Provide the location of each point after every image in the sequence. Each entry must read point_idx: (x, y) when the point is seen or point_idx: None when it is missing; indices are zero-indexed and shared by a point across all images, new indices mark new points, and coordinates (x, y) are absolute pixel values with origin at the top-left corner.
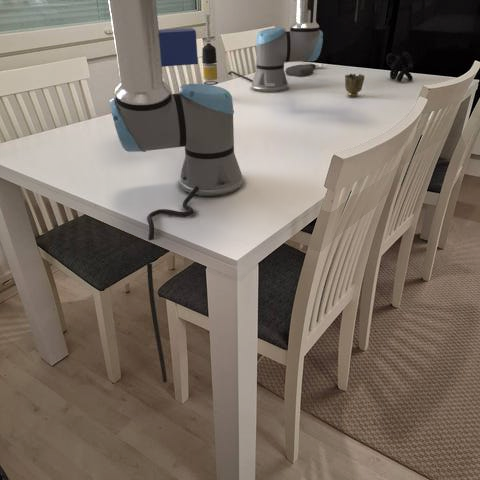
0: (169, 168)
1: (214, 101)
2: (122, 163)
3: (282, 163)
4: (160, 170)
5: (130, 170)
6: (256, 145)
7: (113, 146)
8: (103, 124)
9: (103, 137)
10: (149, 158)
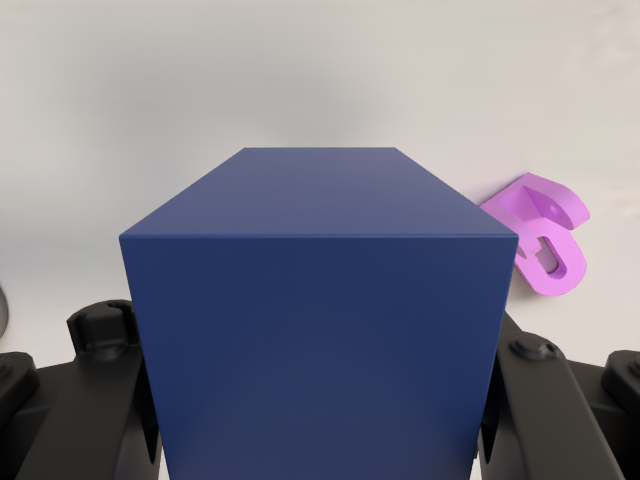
0: (31, 214)
1: None
2: (76, 79)
3: None
4: (16, 190)
5: (17, 103)
6: None
7: (246, 50)
8: (531, 10)
9: (359, 10)
10: (113, 167)
